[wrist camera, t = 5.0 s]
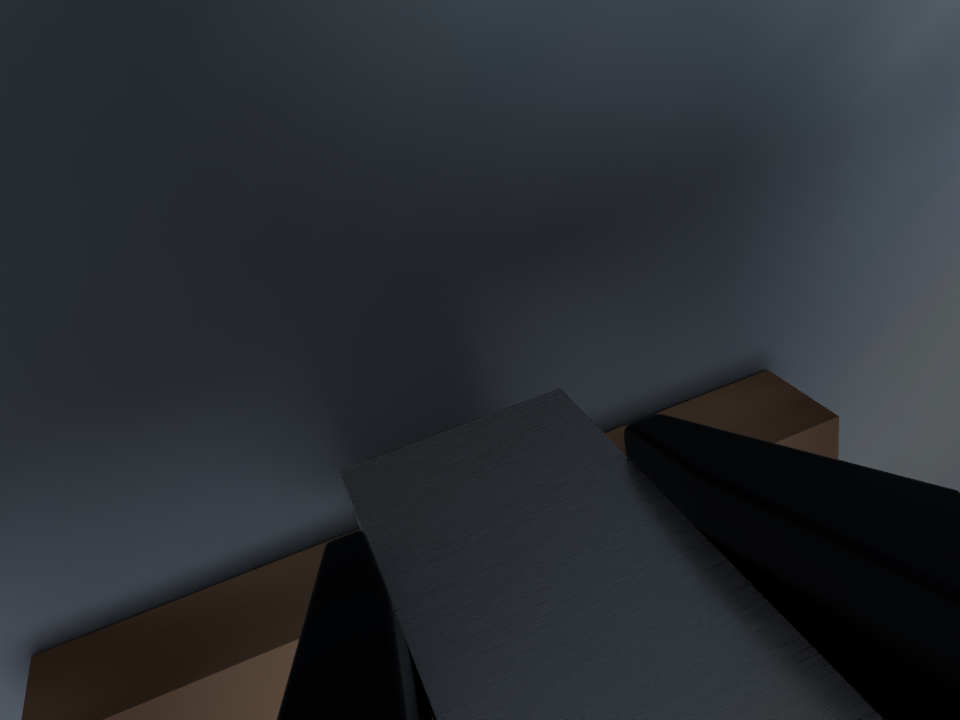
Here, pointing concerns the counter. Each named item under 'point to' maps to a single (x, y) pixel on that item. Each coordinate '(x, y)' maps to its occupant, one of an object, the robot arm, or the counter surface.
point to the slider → (572, 584)
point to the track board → (305, 604)
